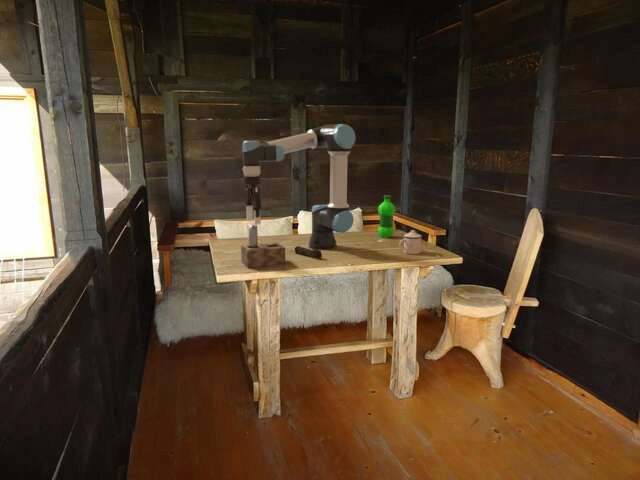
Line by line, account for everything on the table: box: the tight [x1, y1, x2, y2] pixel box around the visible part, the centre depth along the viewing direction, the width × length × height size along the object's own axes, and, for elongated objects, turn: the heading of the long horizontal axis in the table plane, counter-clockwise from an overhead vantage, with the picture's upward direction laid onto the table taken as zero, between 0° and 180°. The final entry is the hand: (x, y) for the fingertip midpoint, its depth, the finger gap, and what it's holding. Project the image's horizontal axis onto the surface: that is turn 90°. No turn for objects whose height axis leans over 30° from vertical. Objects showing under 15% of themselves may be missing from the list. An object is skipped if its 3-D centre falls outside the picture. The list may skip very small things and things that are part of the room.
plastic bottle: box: [377, 194, 396, 238], centre depth 286 cm, size 10×10×25 cm
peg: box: [248, 224, 259, 248], centre depth 222 cm, size 4×4×16 cm
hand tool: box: [294, 245, 323, 260], centre depth 239 cm, size 19×4×5 cm, turn 39°
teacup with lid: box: [399, 229, 423, 255], centre depth 248 cm, size 12×9×12 cm
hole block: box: [240, 242, 286, 269], centre depth 225 cm, size 18×12×8 cm, turn 112°
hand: (253, 222), depth 220 cm, fingers open, 13 cm apart
